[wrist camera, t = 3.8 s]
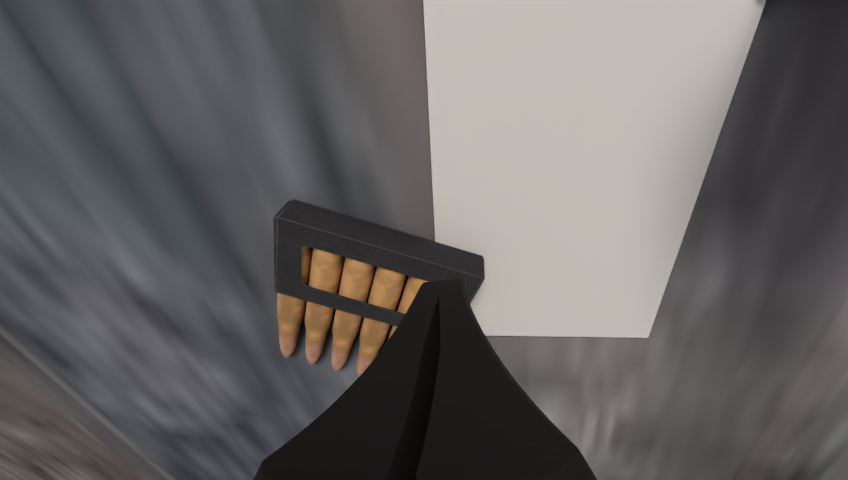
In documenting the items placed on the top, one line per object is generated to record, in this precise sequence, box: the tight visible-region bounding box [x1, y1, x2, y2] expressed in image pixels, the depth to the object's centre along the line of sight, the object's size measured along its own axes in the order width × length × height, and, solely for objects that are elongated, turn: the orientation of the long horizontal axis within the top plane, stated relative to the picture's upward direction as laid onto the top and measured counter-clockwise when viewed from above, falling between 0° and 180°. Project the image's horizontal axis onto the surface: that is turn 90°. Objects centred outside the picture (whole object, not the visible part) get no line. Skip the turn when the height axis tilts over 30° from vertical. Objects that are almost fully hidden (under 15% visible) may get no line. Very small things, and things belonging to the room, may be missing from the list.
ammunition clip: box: [274, 199, 485, 377], centre depth 22 cm, size 11×2×12 cm
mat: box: [423, 0, 766, 338], centre depth 18 cm, size 12×18×1 cm
